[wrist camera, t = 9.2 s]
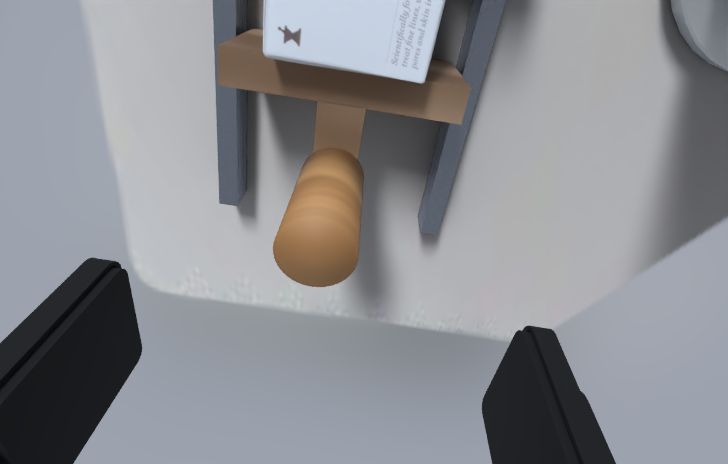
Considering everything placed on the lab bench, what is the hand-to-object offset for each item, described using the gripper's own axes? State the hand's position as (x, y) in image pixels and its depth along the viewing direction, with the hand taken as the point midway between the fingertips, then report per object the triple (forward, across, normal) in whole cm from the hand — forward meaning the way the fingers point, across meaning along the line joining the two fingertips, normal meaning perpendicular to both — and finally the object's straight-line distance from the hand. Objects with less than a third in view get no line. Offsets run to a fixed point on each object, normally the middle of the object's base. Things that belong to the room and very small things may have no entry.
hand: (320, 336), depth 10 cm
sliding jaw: (+15, +1, -1) cm, 16 cm away
